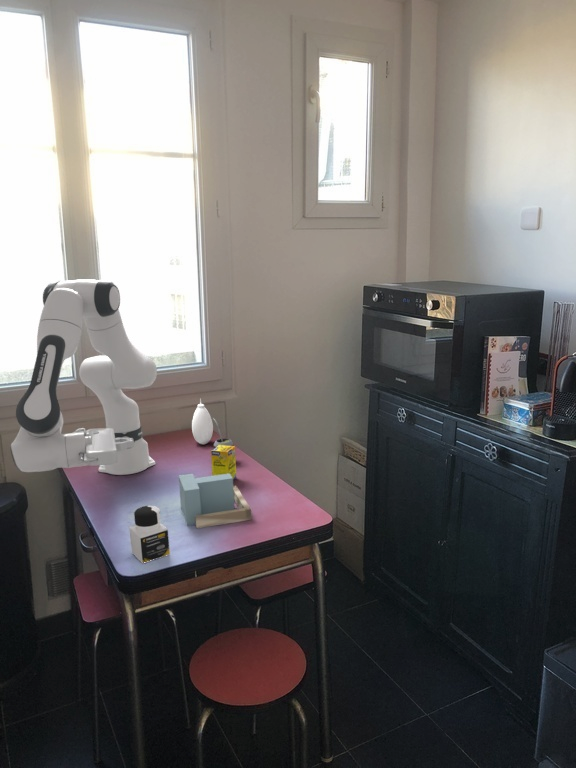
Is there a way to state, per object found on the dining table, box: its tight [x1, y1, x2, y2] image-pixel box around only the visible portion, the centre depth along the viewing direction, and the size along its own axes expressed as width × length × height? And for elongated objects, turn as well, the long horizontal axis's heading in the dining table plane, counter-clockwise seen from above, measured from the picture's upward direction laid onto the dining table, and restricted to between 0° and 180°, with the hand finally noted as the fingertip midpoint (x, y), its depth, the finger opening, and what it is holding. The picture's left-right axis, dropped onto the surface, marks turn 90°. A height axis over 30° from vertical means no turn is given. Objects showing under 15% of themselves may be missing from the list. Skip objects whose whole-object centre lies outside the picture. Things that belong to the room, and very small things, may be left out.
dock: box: [195, 485, 252, 529], centre depth 176 cm, size 18×15×3 cm
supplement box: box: [210, 445, 237, 481], centre depth 198 cm, size 6×6×11 cm
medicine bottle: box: [129, 505, 171, 564], centre depth 152 cm, size 7×7×12 cm
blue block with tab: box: [178, 472, 236, 526], centre depth 175 cm, size 12×14×10 cm
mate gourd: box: [212, 417, 235, 450], centre depth 214 cm, size 8×8×15 cm
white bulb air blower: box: [191, 397, 214, 446], centre depth 234 cm, size 8×8×18 cm
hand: (133, 442), depth 166 cm, fingers closed
